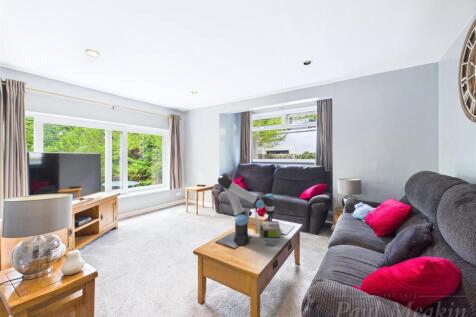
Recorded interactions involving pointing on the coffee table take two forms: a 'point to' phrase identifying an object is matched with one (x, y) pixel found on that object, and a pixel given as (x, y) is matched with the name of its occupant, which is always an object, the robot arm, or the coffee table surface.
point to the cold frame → (259, 225)
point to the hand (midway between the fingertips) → (270, 233)
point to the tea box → (271, 230)
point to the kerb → (269, 244)
